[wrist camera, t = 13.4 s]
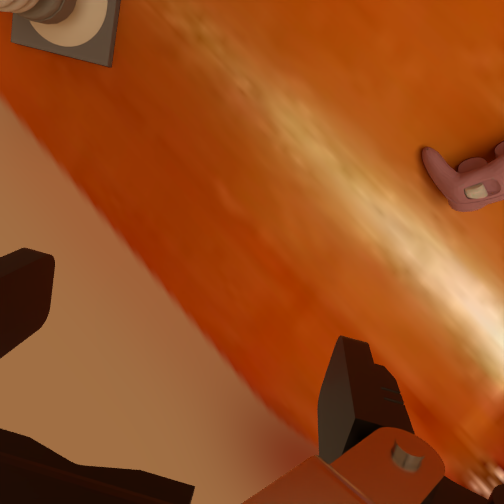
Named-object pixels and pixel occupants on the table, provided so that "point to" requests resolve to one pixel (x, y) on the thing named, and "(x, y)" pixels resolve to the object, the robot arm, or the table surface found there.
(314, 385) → the table surface
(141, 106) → the table surface
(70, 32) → the pad
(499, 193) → the video game controller
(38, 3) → the light bulb
